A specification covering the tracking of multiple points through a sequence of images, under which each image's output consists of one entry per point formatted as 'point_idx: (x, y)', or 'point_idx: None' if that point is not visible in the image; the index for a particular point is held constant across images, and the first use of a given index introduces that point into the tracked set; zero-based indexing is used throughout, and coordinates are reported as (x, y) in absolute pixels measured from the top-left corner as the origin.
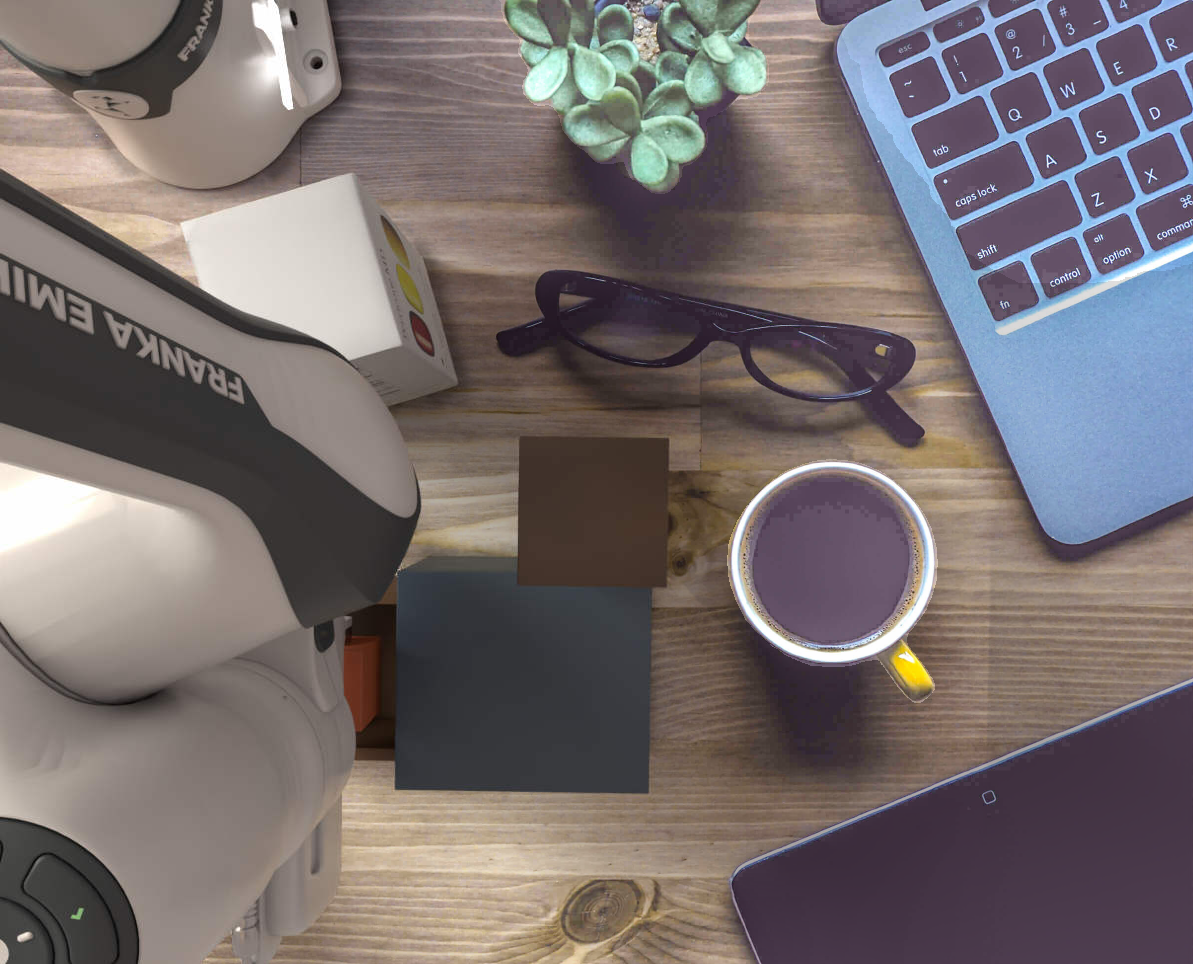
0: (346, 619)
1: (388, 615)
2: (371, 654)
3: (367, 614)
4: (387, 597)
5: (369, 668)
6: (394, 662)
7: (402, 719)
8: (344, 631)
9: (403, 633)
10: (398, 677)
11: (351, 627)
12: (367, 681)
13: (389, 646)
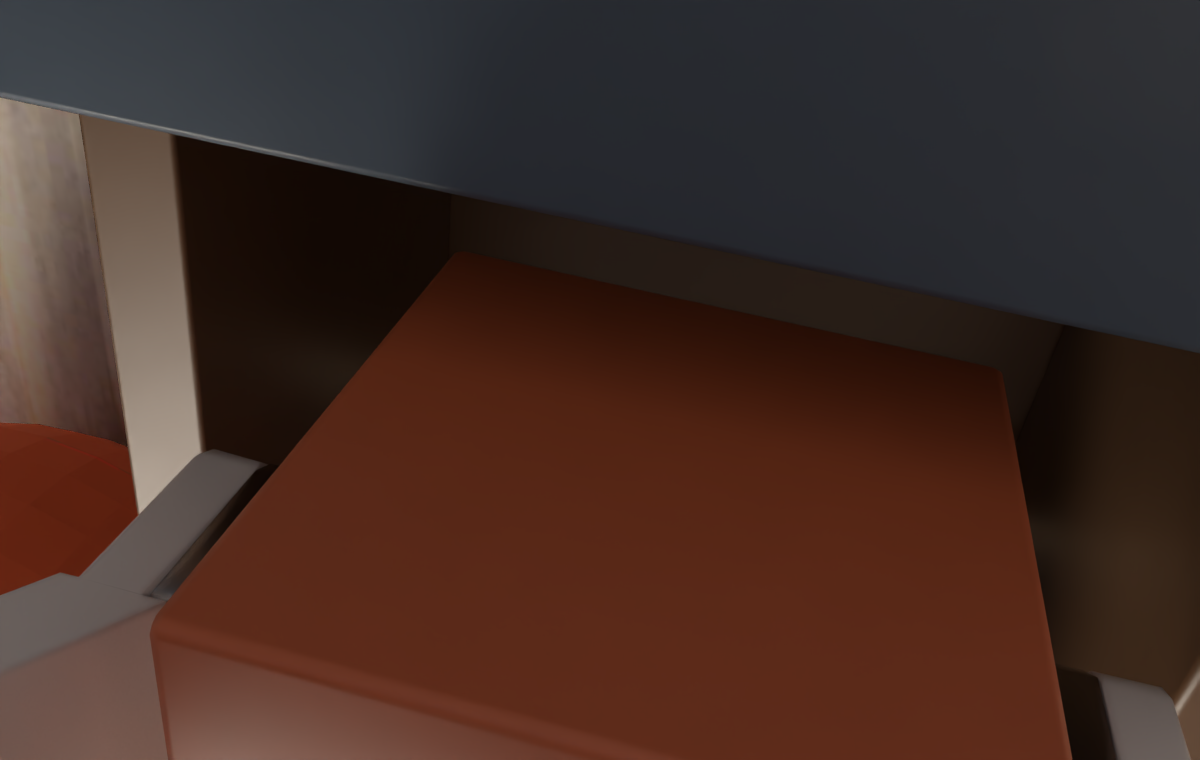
0: (124, 534)
1: None
2: (411, 423)
3: (563, 226)
4: (126, 161)
5: (500, 490)
6: None
7: (1141, 271)
8: (135, 614)
9: (281, 96)
10: (690, 224)
11: (258, 479)
12: (591, 563)
13: None
